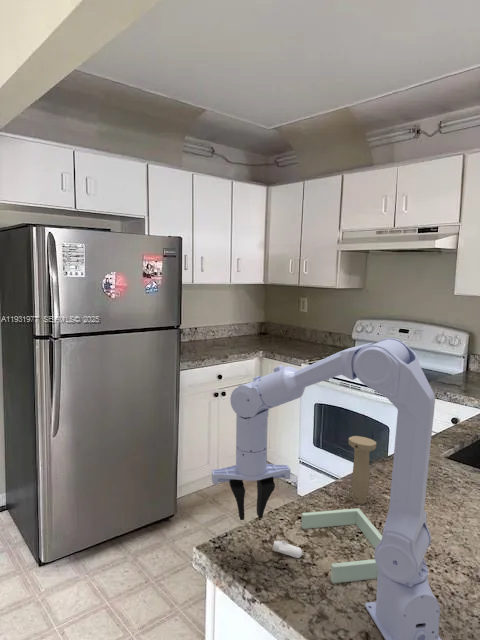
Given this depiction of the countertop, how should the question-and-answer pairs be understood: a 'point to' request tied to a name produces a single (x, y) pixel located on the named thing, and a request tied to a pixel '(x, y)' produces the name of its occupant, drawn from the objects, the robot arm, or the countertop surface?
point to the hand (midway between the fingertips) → (250, 516)
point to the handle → (361, 467)
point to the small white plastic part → (287, 549)
